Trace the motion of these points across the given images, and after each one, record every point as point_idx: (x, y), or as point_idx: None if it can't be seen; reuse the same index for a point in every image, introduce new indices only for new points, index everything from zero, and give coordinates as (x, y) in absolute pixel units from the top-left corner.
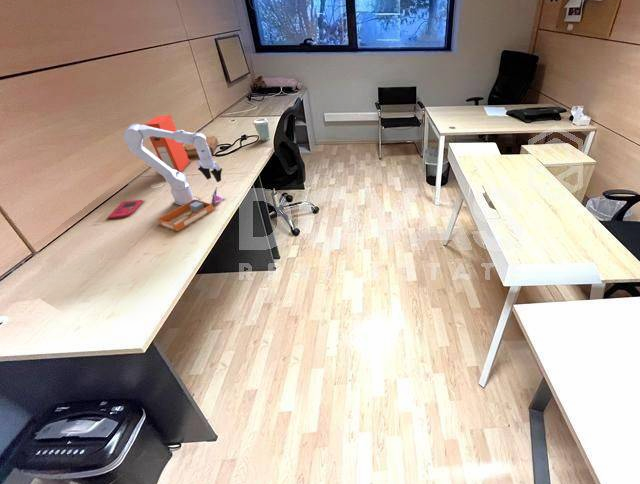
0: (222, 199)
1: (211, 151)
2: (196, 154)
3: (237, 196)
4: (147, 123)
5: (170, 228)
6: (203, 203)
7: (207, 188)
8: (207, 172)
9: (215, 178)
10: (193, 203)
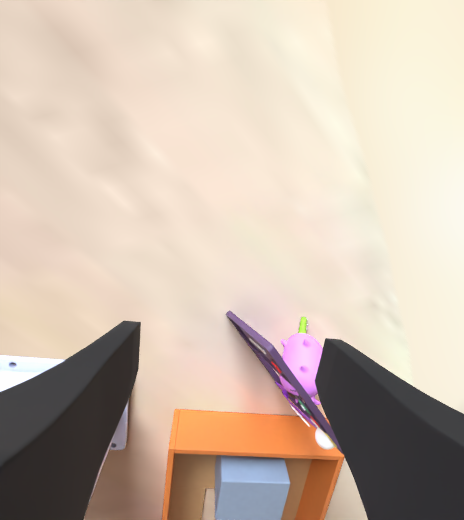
0: (303, 325)
1: None
2: None
3: (377, 251)
4: None
5: None
6: (260, 446)
7: (25, 211)
8: (96, 420)
9: (349, 445)
10: (227, 501)
